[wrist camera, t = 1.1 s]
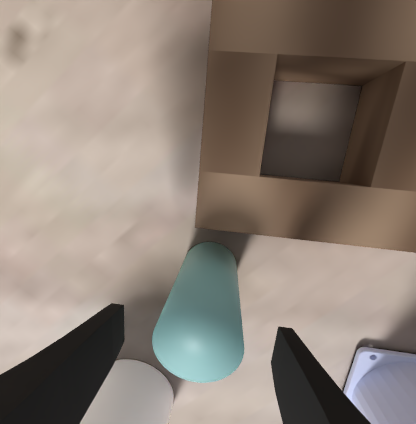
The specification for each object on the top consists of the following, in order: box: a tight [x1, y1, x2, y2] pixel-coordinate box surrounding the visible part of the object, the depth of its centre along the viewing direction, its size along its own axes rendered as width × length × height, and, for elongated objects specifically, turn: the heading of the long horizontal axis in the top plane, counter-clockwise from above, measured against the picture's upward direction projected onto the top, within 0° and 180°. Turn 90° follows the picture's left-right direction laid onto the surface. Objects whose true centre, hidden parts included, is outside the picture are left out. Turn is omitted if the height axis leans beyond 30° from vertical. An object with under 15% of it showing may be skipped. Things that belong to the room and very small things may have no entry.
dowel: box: [152, 242, 244, 383], centre depth 12 cm, size 4×4×7 cm
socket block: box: [195, 0, 416, 253], centre depth 11 cm, size 12×12×3 cm
